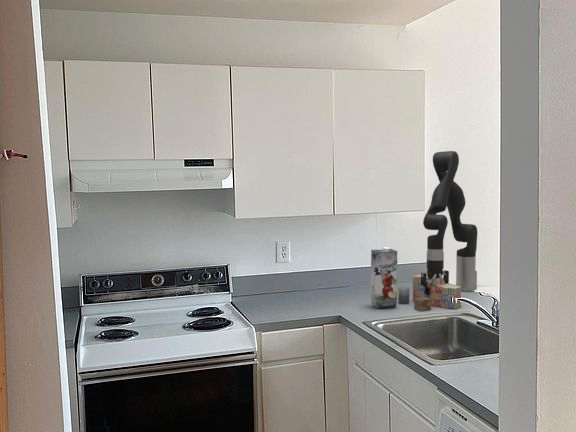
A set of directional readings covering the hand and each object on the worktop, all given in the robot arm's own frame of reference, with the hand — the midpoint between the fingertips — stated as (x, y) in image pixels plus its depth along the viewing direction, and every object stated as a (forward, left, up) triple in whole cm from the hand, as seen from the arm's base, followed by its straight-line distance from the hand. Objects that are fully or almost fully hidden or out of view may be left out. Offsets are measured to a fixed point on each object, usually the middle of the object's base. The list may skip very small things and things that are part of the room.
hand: (434, 294), depth 272 cm
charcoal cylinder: (+11, -8, -5) cm, 14 cm away
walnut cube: (+11, +6, -5) cm, 13 cm away
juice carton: (+23, -6, -5) cm, 24 cm away
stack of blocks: (0, +1, -5) cm, 5 cm away
